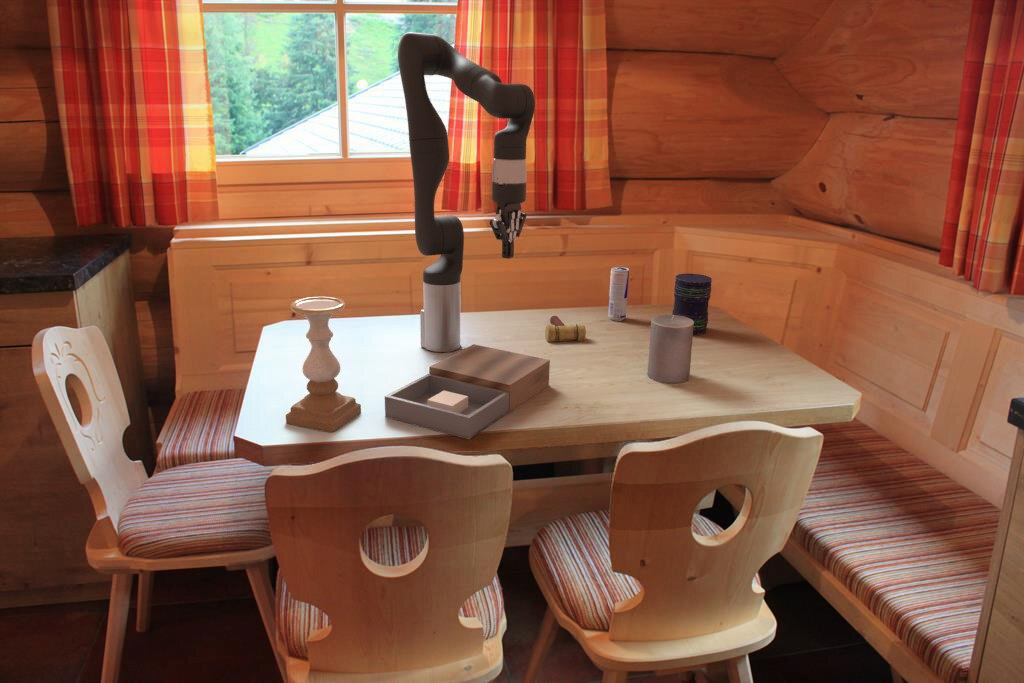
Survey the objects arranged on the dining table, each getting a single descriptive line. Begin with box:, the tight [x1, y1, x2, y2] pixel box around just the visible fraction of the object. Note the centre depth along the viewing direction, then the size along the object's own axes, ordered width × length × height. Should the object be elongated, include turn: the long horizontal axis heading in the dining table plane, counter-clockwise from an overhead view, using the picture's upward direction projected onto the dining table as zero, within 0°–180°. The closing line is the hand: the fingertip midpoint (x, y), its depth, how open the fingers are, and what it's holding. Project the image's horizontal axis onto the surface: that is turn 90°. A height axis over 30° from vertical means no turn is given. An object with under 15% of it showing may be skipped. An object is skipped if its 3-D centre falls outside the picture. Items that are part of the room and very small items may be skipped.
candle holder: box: [285, 296, 362, 433], centre depth 157 cm, size 11×11×24 cm
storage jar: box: [671, 273, 713, 337], centre depth 219 cm, size 10×10×15 cm
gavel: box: [544, 315, 587, 343], centre depth 218 cm, size 21×5×10 cm
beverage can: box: [607, 266, 630, 322], centre depth 228 cm, size 5×5×15 cm
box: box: [384, 373, 510, 441], centre depth 162 cm, size 20×15×4 cm
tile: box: [427, 391, 468, 413], centre depth 164 cm, size 6×6×2 cm
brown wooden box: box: [428, 343, 551, 413], centre depth 176 cm, size 20×18×6 cm
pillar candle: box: [646, 314, 694, 384], centre depth 184 cm, size 10×10×15 cm
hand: (507, 257), depth 180 cm, fingers closed
